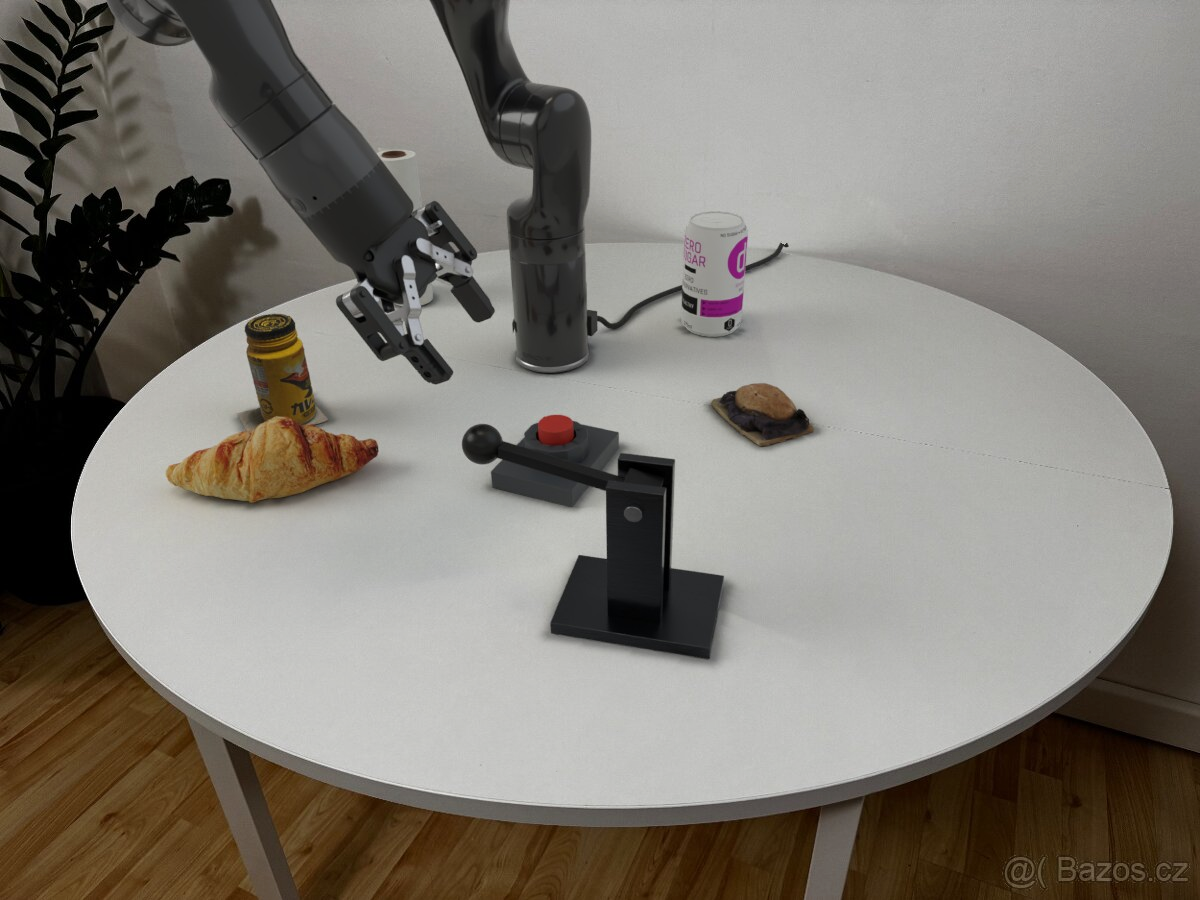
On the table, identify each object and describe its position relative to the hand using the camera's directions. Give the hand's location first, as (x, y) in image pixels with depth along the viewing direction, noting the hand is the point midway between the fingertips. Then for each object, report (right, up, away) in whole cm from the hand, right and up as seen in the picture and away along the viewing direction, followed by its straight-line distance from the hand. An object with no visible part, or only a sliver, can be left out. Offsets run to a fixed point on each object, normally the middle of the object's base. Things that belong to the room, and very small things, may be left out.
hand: (466, 347), depth 75 cm
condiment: (-26, -5, +29) cm, 39 cm away
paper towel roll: (-16, +14, +58) cm, 62 cm away
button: (+7, -7, +17) cm, 20 cm away
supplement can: (+27, +8, +49) cm, 56 cm away
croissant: (-22, -12, +18) cm, 31 cm away
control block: (+7, -10, +19) cm, 23 cm away
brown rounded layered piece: (+30, -5, +27) cm, 40 cm away
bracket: (+15, -22, 0) cm, 26 cm away
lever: (+8, -11, -5) cm, 14 cm away
